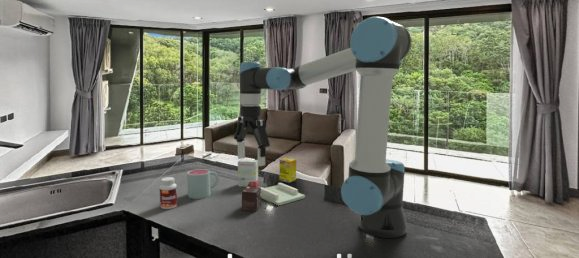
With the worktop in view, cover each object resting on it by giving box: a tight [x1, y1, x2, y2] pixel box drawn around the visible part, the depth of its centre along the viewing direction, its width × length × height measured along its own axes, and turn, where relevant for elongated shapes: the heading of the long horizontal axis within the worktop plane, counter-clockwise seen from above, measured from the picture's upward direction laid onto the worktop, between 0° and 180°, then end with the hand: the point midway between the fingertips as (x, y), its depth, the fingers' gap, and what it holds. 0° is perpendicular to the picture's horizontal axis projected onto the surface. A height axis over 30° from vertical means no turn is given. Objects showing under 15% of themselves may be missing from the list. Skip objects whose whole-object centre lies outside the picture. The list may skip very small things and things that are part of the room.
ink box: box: [237, 158, 259, 188], centre depth 152 cm, size 9×5×12 cm, turn 81°
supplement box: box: [279, 157, 297, 185], centre depth 158 cm, size 6×6×11 cm
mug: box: [186, 168, 219, 200], centre depth 140 cm, size 14×9×10 cm
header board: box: [259, 182, 306, 207], centre depth 139 cm, size 18×14×3 cm
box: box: [241, 186, 262, 212], centre depth 125 cm, size 6×6×7 cm
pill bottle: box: [159, 176, 178, 210], centre depth 126 cm, size 6×6×11 cm
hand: (250, 161), depth 123 cm, fingers open, 13 cm apart
